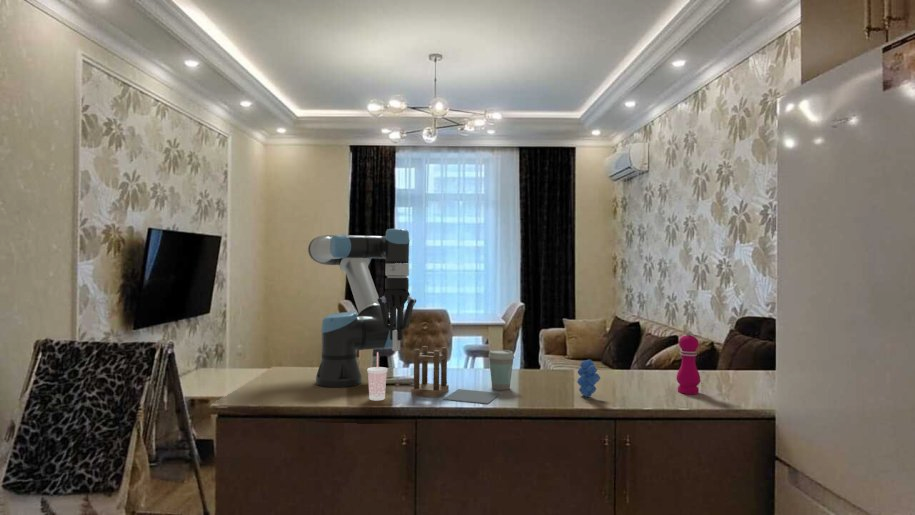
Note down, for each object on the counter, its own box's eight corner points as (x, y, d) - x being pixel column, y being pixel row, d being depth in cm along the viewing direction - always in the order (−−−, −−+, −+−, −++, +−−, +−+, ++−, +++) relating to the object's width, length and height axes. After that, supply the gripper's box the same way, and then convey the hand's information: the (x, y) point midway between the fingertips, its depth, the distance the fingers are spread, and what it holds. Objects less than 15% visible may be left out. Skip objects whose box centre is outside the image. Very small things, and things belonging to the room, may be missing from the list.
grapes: (608, 401, 177) (608, 361, 177) (586, 402, 176) (587, 362, 176) (592, 392, 189) (593, 355, 188) (572, 393, 187) (573, 355, 187)
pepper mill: (699, 390, 193) (700, 329, 193) (700, 395, 186) (701, 332, 186) (676, 389, 195) (676, 328, 195) (676, 393, 188) (677, 331, 188)
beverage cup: (389, 396, 180) (390, 351, 180) (383, 401, 174) (384, 354, 174) (370, 395, 181) (371, 350, 181) (364, 400, 175) (364, 353, 175)
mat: (443, 399, 177) (443, 398, 177) (458, 390, 190) (458, 389, 190) (488, 404, 172) (488, 403, 172) (500, 393, 185) (500, 392, 185)
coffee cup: (512, 391, 189) (512, 354, 189) (486, 390, 190) (486, 353, 190) (515, 386, 197) (515, 350, 197) (489, 384, 199) (490, 349, 199)
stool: (411, 394, 183) (411, 349, 183) (422, 388, 191) (423, 345, 191) (438, 397, 180) (438, 351, 180) (448, 391, 189) (449, 347, 188)
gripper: (373, 276, 188) (372, 350, 188) (410, 277, 184) (410, 353, 184) (383, 276, 195) (383, 347, 195) (420, 277, 191) (419, 349, 191)
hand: (396, 350), depth 189 cm, fingers closed
